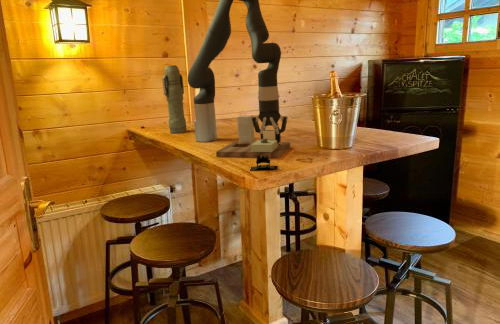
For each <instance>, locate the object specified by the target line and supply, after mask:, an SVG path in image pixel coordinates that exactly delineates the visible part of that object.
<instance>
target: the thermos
mask: <svg viewBox="0 0 500 324" xmlns="http://www.w3.org/2000/svg"><path fill="white" fill-rule="evenodd" d="M161 81H162V87H163V89H162V90H163V95H164V96H165V100H166V102H167V109H168V117H169V118H168V127H169V131H170V132H169V133H170V134H172V135H173V134H174V135H175V134H176V135H177V134H184V133H187V121H186V118H185V110H184V94H185V90H184V79H183V74H181V73H180V69H179V67H178V66H177V65H176V64H175V65H167V66H165V68H164V75H163V76H162V79H161Z"/></svg>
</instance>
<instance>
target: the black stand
mask: <svg viewBox="0 0 500 324" xmlns="http://www.w3.org/2000/svg"><path fill="white" fill-rule="evenodd" d="M255 161H256V162H255V163H256V166H250V167H251V169H250V171H249V172H262V171H263V172H264V171H265V172H266V171H279V165H271V158H269V155H263V156H257V158H256V160H255ZM261 164H263V165H261ZM265 164H266V165H265Z"/></svg>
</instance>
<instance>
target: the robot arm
mask: <svg viewBox="0 0 500 324" xmlns="http://www.w3.org/2000/svg"><path fill="white" fill-rule="evenodd" d="M238 2H243V4H244V5H245V6H246V9H247V13H246V17H245V28H246V31H247V34H248V35H249V39H250V43H251V44H250V45H251V58H252V60H253V61H254V63H257V64H268V65H267V67H266V68H265V69H262V70H260V71H258V74H257V78H258V79H257V81H258V83H257V84H258V93H257V94H258V95H257V99H258V112H259V114H258V115H257V116H253V118H252V122H253V125H254V133H259V134H260V140H261V139H263V131H264V130H266V129H267V127H268V126H270V127H273V128H272V129H275V131H276V141H277V144H278V143H279V142H282V141H281V140H282V138H281V137H282V135H281V134H282V133H284V132H286V128H287V122H288V119H289V117H288V116H287V115H281V113H280V100H279V99H280V96H279V87H278V73H279V65H280V61H281V59H282V58H281V56H282V50H281V47H280V45H279V44H278V43H276V42H267V41H268V39H269V38H270V34H269V33H270V32H269V30H268V28H267V25H266V23H265V19H264V17H263V15H262V12H261V6H260V0H238ZM233 3H234V0H218V4H217V7H216V9H215V12H214V15H213V17H212V20H211V22H210V24H209V26H208V29H207V32H206V34H205V36H204V40H203V41H202V44H201V47H200V48H199V50H198V54H197V55H196V57H195V59H194V60H193V61H194V62H193V63H192V65H191V66H190V68H189V71H188V74H187V83H188V86H190V88H192V89H197V90H198V89H199V93H198V94H197V95H195V96H194V97H193V106H194V107H193V108H194V117H195V118H194V119H195V120H193V124H194V125H193V127H194V134H195V141H196V142H201V143H202V142H204V143H206V142H207V143H208V142H214V141H216V140H218V131H217V120H216V119H217V118H216V108H215V107H216V106H215V97H216V78H215V73H214V71H213V69H212V68H211V67H209V66H210V65H211V63H212V62H213V61H214V60H215V59H216V58H217V57H218V56H219V55H220V54H221V53H222V52H223V51H224V49H225V48H226V46H227V43H228V41H229V39H230V37H231V34H232V25H231V19H230V11H231V7H232V4H233ZM279 120H280V121H281V127H280V125H279ZM259 122H261V126H260V124H259Z"/></svg>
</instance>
